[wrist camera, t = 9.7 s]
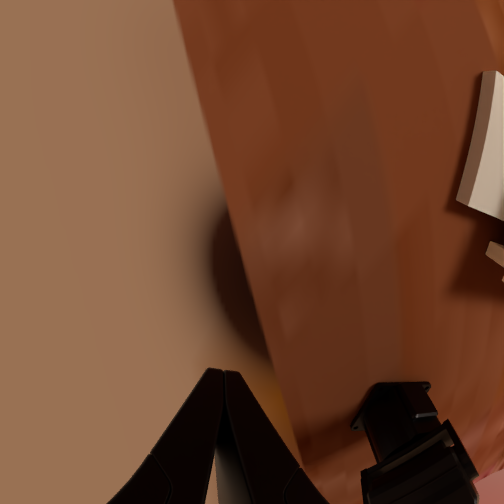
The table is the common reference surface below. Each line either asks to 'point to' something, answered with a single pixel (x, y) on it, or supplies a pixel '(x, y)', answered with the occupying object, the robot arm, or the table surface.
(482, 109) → the pale wall plate
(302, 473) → the robot arm
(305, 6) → the table surface
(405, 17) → the table surface
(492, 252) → the cream rectangular slab
